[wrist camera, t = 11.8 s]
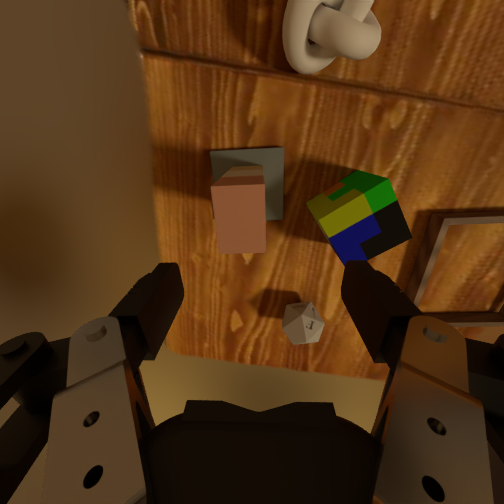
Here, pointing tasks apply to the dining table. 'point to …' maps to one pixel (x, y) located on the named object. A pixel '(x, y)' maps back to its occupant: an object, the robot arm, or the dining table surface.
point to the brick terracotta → (240, 214)
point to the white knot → (328, 32)
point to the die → (302, 323)
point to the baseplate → (271, 168)
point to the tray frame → (428, 257)
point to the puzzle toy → (360, 216)
